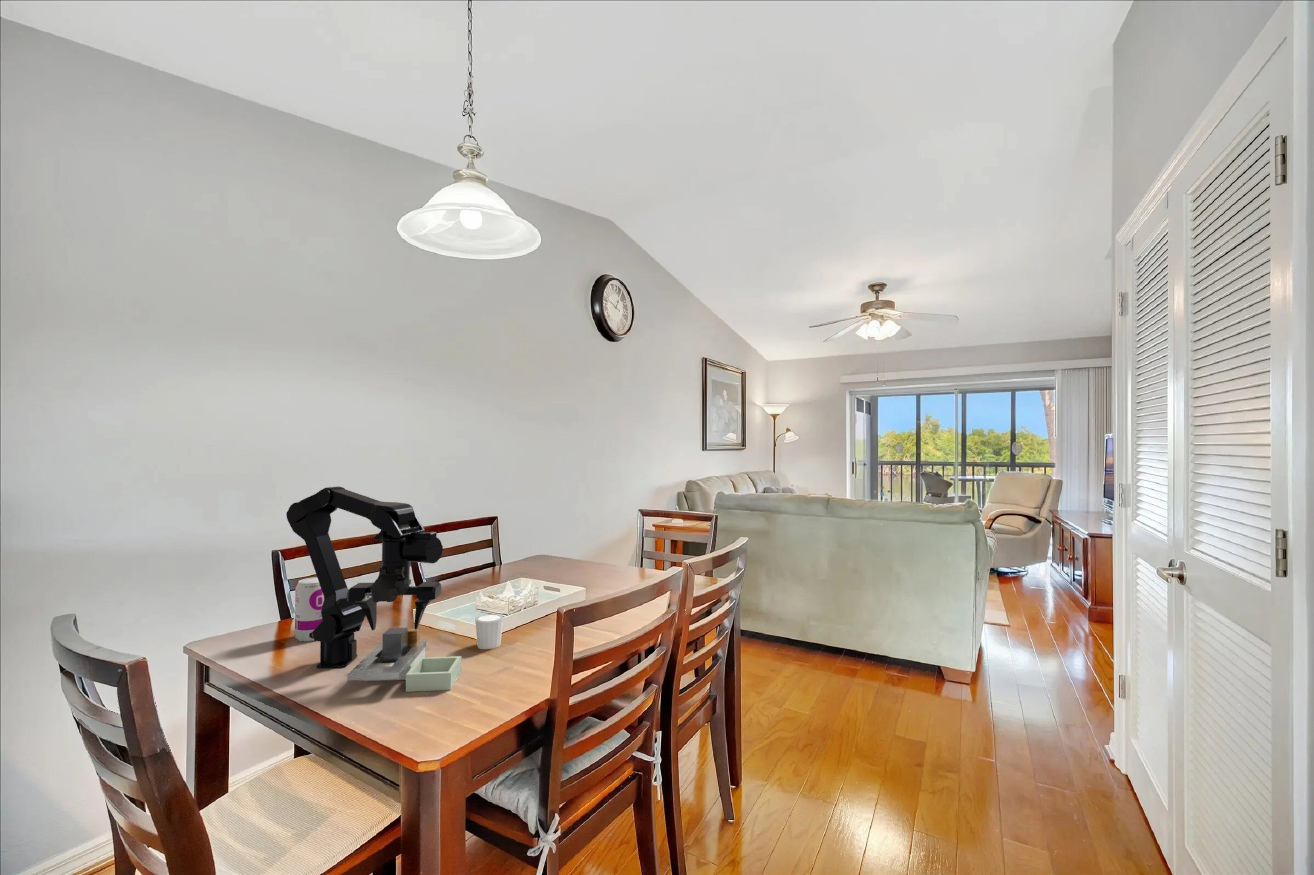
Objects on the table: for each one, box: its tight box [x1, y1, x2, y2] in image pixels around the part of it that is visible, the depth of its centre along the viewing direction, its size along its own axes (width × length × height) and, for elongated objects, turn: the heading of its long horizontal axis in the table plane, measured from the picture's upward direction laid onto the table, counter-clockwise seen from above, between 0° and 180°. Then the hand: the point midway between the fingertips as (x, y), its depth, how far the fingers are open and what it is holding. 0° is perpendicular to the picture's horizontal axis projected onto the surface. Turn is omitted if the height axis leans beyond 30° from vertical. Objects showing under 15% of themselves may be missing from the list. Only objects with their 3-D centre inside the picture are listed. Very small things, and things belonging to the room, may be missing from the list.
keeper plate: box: [346, 627, 427, 681], centre depth 121 cm, size 18×10×4 cm, turn 6°
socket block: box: [361, 647, 426, 682], centre depth 124 cm, size 10×10×3 cm
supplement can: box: [294, 576, 324, 643], centre depth 145 cm, size 8×8×15 cm
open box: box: [405, 655, 462, 693], centre depth 119 cm, size 9×9×4 cm
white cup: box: [475, 613, 504, 650], centre depth 140 cm, size 7×7×7 cm
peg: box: [382, 627, 409, 663], centre depth 124 cm, size 5×5×9 cm
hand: (395, 629), depth 124 cm, fingers open, 9 cm apart
